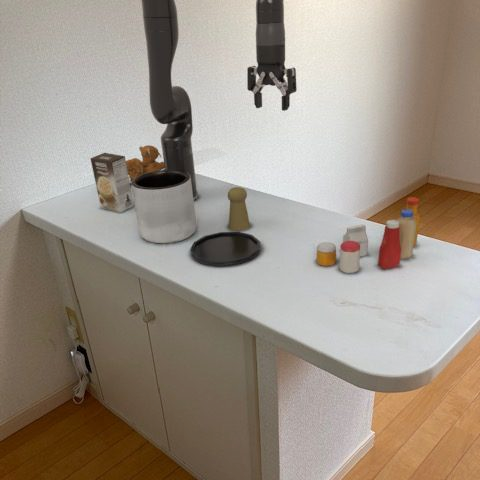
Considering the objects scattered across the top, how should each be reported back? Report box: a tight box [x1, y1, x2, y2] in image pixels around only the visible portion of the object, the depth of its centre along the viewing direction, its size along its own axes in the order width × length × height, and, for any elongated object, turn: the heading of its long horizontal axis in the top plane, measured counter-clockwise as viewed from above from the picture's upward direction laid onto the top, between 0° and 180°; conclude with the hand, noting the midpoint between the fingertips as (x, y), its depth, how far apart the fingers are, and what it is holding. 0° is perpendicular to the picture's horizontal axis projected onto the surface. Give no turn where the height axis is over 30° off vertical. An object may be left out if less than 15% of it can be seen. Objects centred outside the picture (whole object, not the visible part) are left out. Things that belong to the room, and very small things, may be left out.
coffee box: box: [90, 152, 134, 213], centre depth 160 cm, size 9×6×16 cm
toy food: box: [316, 196, 421, 274], centre depth 121 cm, size 27×13×12 cm, turn 104°
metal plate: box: [190, 231, 262, 268], centre depth 133 cm, size 18×18×1 cm
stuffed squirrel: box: [126, 144, 165, 183], centre depth 177 cm, size 10×14×13 cm
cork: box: [227, 186, 251, 232], centre depth 143 cm, size 6×6×11 cm
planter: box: [130, 169, 198, 244], centre depth 140 cm, size 16×16×16 cm
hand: (271, 108), depth 142 cm, fingers open, 8 cm apart
